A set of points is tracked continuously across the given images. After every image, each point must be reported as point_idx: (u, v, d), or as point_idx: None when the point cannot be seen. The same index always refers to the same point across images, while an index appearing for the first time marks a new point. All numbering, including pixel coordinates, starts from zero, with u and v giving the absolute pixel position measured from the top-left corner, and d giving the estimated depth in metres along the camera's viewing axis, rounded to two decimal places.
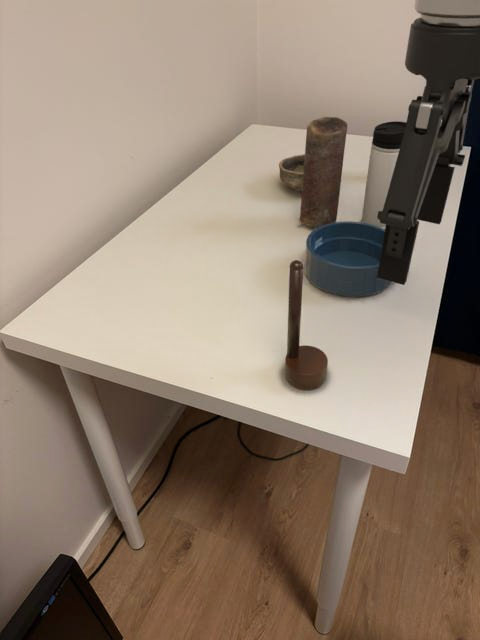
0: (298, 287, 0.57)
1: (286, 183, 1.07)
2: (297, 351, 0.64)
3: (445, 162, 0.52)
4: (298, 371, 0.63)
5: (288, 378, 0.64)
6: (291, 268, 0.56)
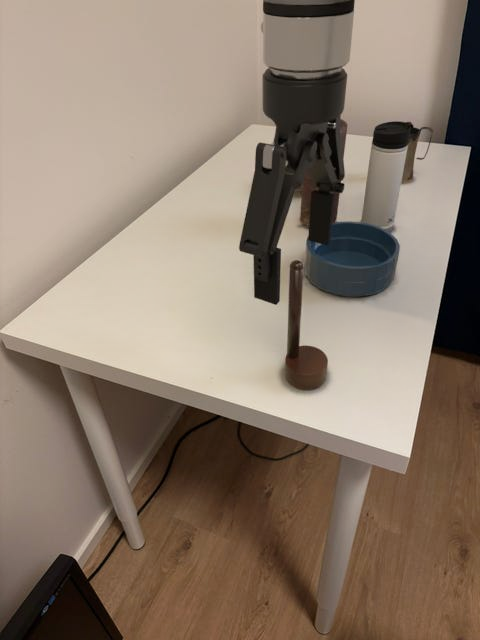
0: (298, 287, 0.57)
1: None
2: (297, 351, 0.64)
3: (327, 189, 0.56)
4: (298, 371, 0.63)
5: (288, 378, 0.64)
6: (291, 268, 0.56)
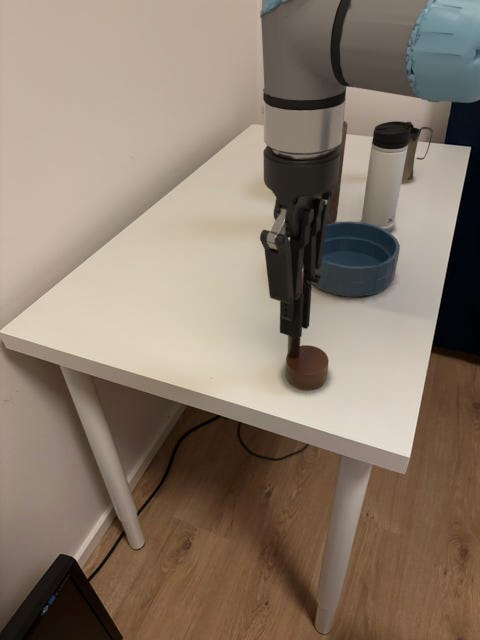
0: None
1: None
2: (298, 351, 0.64)
3: (303, 277, 0.58)
4: (299, 371, 0.62)
5: (289, 378, 0.64)
6: None
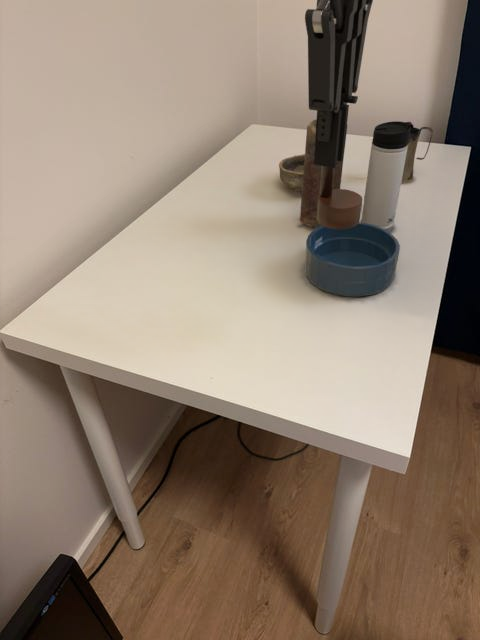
0: None
1: (286, 183, 1.07)
2: (331, 189, 0.62)
3: None
4: (333, 206, 0.61)
5: (321, 218, 0.63)
6: None
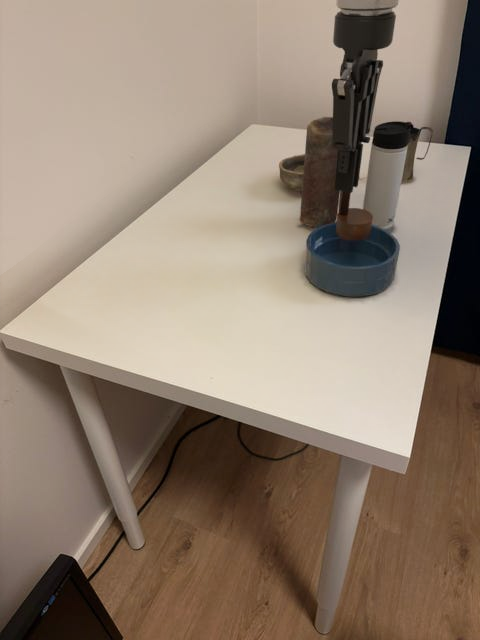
0: None
1: (286, 183, 1.07)
2: (347, 208, 0.77)
3: (356, 138, 0.72)
4: (349, 222, 0.76)
5: (339, 232, 0.78)
6: None
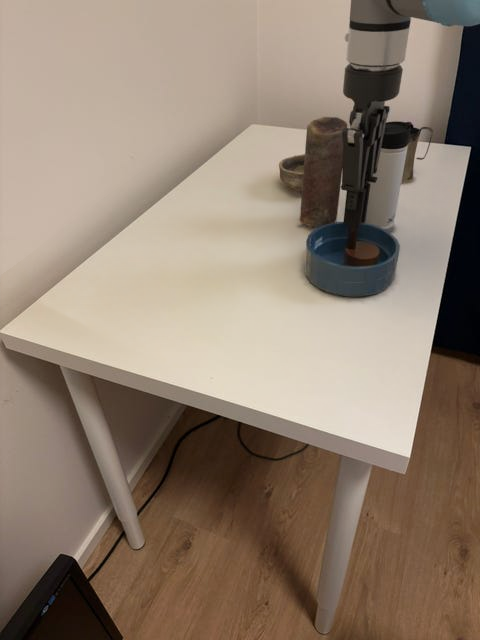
0: None
1: (286, 183, 1.07)
2: (355, 242, 0.81)
3: (364, 178, 0.75)
4: (357, 256, 0.80)
5: (347, 265, 0.81)
6: None
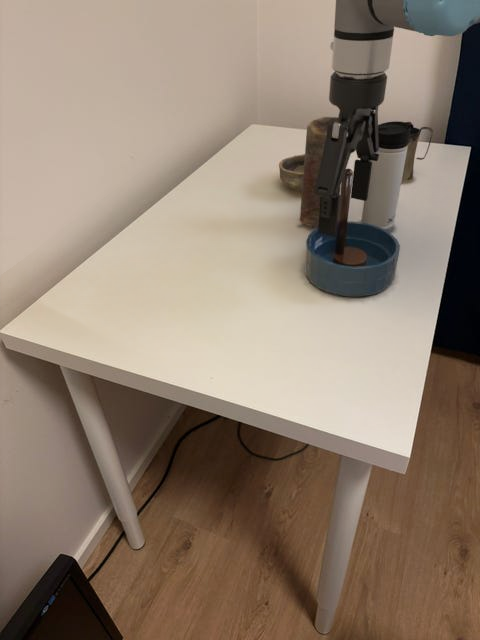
0: (348, 190, 0.75)
1: (286, 183, 1.07)
2: (343, 248, 0.82)
3: (366, 159, 0.79)
4: (344, 262, 0.81)
5: None
6: (344, 174, 0.74)
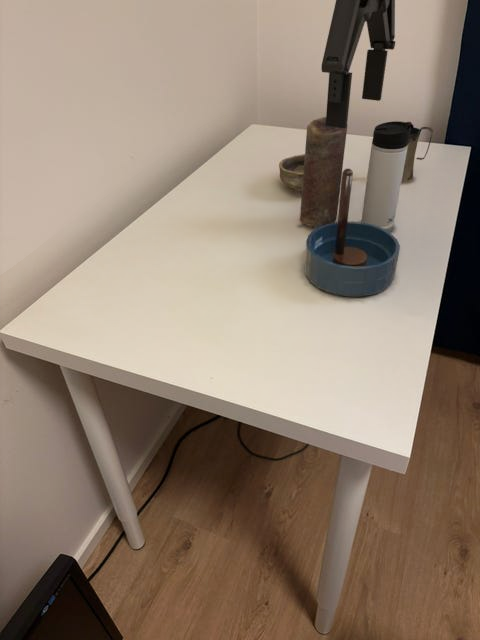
0: (348, 190, 0.75)
1: (286, 183, 1.07)
2: (343, 248, 0.82)
3: (380, 47, 0.69)
4: (344, 262, 0.81)
5: None
6: (344, 174, 0.74)
